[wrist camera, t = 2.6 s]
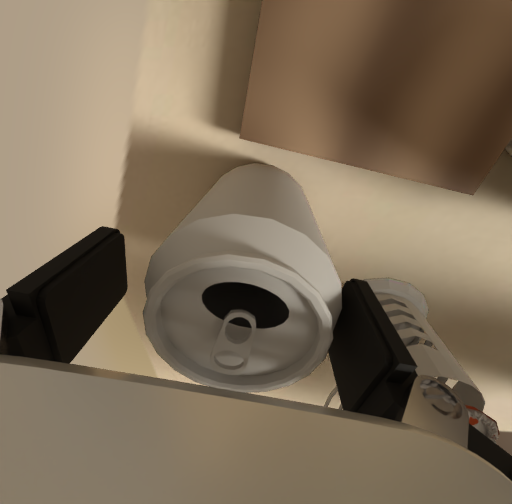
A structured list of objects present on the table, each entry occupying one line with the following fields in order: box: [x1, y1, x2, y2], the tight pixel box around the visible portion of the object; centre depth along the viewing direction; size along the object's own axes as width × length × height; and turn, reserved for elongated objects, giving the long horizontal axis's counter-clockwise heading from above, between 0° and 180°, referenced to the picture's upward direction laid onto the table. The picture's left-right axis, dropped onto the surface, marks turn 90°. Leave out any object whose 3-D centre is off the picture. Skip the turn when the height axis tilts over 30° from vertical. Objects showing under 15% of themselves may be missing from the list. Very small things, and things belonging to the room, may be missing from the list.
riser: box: [240, 0, 512, 195], centre depth 11 cm, size 14×14×2 cm
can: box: [143, 163, 342, 393], centre depth 13 cm, size 8×8×12 cm
